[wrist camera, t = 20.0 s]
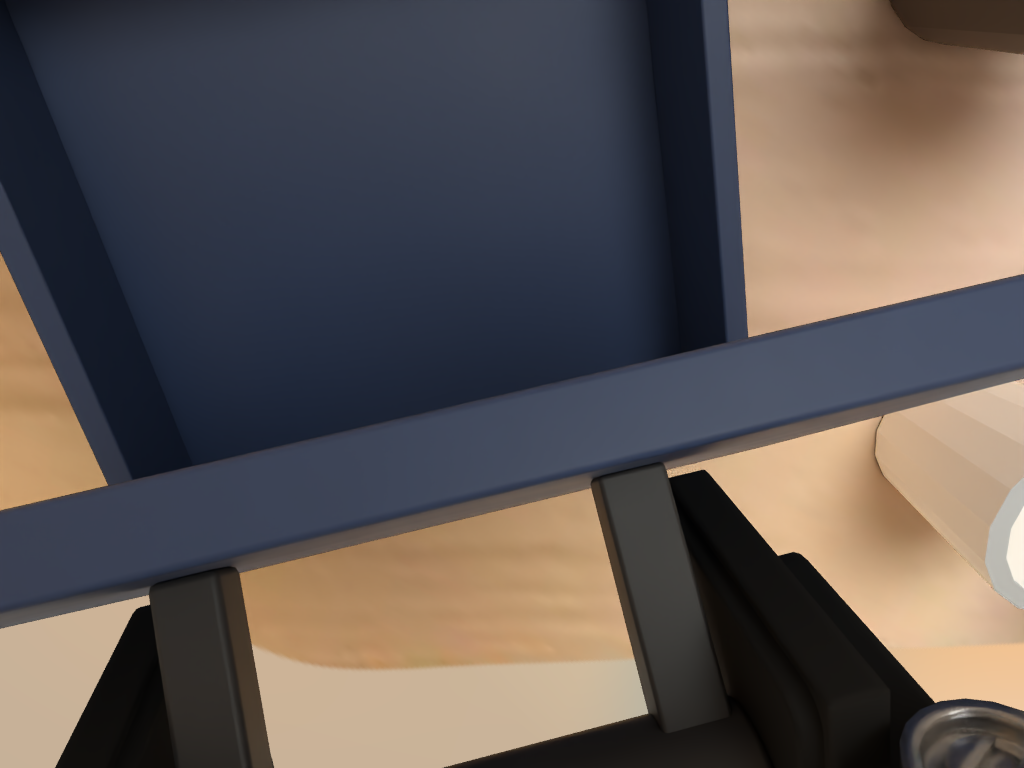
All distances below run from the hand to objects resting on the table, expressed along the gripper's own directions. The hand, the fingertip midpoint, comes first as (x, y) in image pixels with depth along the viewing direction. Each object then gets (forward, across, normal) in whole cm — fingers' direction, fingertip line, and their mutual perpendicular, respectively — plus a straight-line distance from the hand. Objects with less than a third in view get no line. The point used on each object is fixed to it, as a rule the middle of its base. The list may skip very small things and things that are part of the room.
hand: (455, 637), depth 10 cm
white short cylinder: (+17, -19, +10) cm, 27 cm away
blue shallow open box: (+17, 0, -4) cm, 17 cm away
